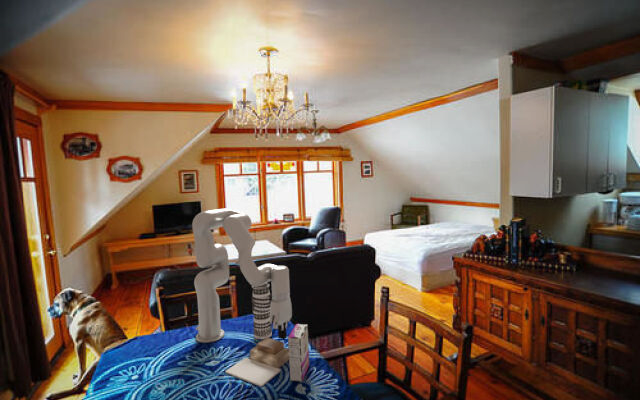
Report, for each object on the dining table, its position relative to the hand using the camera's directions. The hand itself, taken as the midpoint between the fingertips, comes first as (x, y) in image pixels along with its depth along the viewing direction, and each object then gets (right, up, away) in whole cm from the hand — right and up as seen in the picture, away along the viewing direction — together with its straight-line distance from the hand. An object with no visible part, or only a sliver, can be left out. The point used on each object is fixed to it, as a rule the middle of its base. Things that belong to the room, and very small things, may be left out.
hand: (282, 337), depth 141 cm
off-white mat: (-9, -7, -15) cm, 19 cm away
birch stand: (-4, -6, -7) cm, 10 cm away
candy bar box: (+8, -6, -17) cm, 20 cm away
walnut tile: (-4, -2, -7) cm, 8 cm away
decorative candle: (-11, -5, +15) cm, 19 cm away
